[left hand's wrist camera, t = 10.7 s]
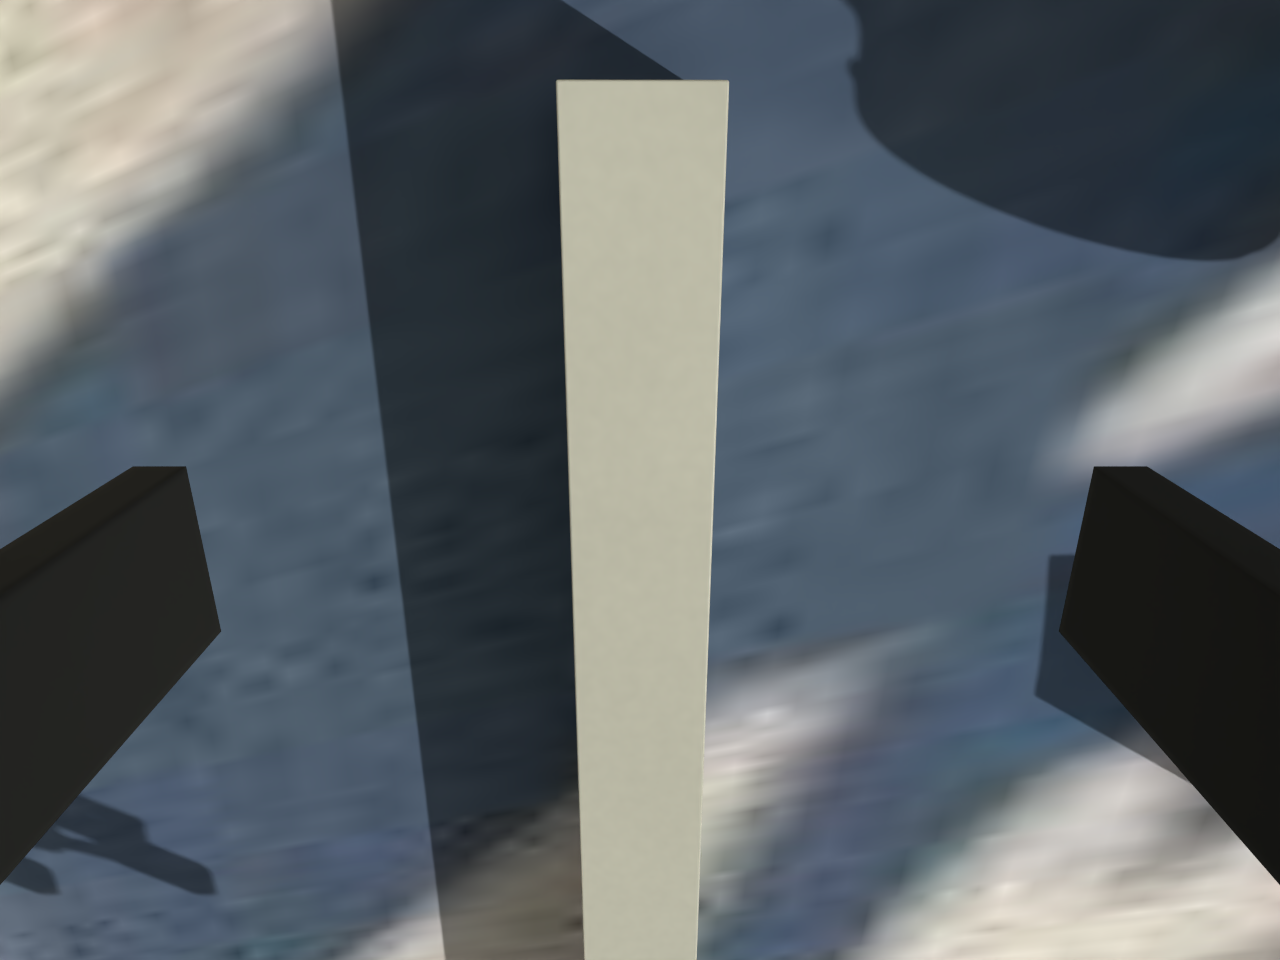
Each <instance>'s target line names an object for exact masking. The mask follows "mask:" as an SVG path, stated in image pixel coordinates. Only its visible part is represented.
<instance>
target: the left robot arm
mask: <svg viewBox="0 0 1280 960" xmlns="http://www.w3.org/2000/svg"><path fill="white" fill-rule="evenodd" d="M220 632H221V629H220V624H219V619H218V615H217V610H216V605H215V601H214V596H213V591H212V586H211V582H210V577H209V572H208V568H207V563H206V558H205V554H204V549H203V544H202V539H201V535H200V530H199V525H198V521H197V516H196V511H195V507H194V502H193V497H192V493H191V488H190V483H189V478H188V474H187V469H186V467H131V468H130V469H128V470H127V471H125V472H123V473H122V474H120V475H119V476H117V477H115V478H114V479H112V480H111V481H109V482H107V483H106V484H104V485H103V486H101V487H99V488H98V489H96V490H95V491H93V492H91V493H90V494H88V495H87V496H85V497H83V498H82V499H80V500H78V501H77V502H75V503H74V504H72V505H70V506H69V507H67V508H66V509H64V510H62V511H61V512H59V513H58V514H56V515H54V516H53V517H51V518H50V519H48V520H46V521H45V522H43V523H42V524H40V525H38V526H37V527H35V528H34V529H32V530H30V531H29V532H27V533H26V534H24V535H22V536H21V537H19V538H17V539H16V540H14V541H13V542H11V543H9V544H8V545H6V546H5V547H3V548H1V549H0V884H1V883H2V882H3V881H4V880H5V879H6V878H7V876H8V875H9V874H10V873H11V872H12V871H13V869H14V868H15V867H16V866H17V865H18V864H19V863H20V861H21V860H22V859H23V858H24V857H25V856H26V855H27V853H28V852H29V851H30V850H31V849H32V848H33V847H34V845H35V844H36V843H37V842H38V841H39V840H40V838H41V837H42V836H43V835H44V834H45V833H46V832H47V830H48V829H49V828H50V827H51V826H52V825H53V824H54V822H55V821H56V820H57V819H58V818H59V817H60V816H61V814H62V813H63V812H64V811H65V810H66V809H67V808H68V806H69V805H70V804H71V803H72V802H73V801H74V799H75V798H76V797H77V796H78V795H79V794H80V793H81V791H82V790H83V789H84V788H85V787H86V786H87V785H88V783H89V782H90V781H91V780H92V779H93V778H94V777H95V775H96V774H97V773H98V772H99V771H100V770H101V769H102V767H103V766H104V765H105V764H106V763H107V762H108V760H109V759H110V758H111V757H112V756H113V755H114V754H115V752H116V751H117V750H118V749H119V748H120V747H121V746H122V744H123V743H124V742H125V741H126V740H127V739H128V738H129V736H130V735H131V734H132V733H133V732H134V731H135V729H136V728H137V727H138V726H139V725H140V724H141V723H142V721H143V720H144V719H145V718H146V717H147V716H148V715H149V713H150V712H151V711H152V710H153V709H154V708H155V707H156V705H157V704H158V703H159V702H160V701H161V700H162V699H163V697H164V696H165V695H166V694H167V693H168V692H169V690H170V689H171V688H172V687H173V686H174V685H175V684H176V682H177V681H178V680H179V679H180V678H181V677H182V676H183V674H184V673H185V672H186V671H187V670H188V669H189V668H190V666H191V665H192V664H193V663H194V662H195V661H196V659H197V658H198V657H199V656H200V655H201V654H202V653H203V651H204V650H205V649H206V648H207V647H208V646H209V645H210V643H211V642H212V641H213V640H214V639H215V638H216V637H217V635H218V634H219V633H220ZM1059 632H1060V633H1061V634H1062V635H1063V637H1064V638H1065V639H1066V640H1067V641H1068V642H1069V643H1070V645H1071V646H1072V647H1073V648H1074V649H1075V650H1076V651H1077V653H1078V654H1079V655H1080V656H1081V657H1082V658H1083V660H1084V661H1085V662H1086V663H1087V664H1088V665H1089V666H1090V668H1091V669H1092V670H1093V671H1094V672H1095V673H1096V674H1097V676H1098V677H1099V678H1100V679H1101V680H1102V681H1103V682H1104V684H1105V685H1106V686H1107V687H1108V688H1109V689H1110V690H1111V692H1112V693H1113V694H1114V695H1115V696H1116V697H1117V699H1118V700H1119V701H1120V702H1121V703H1122V704H1123V705H1124V707H1125V708H1126V709H1127V710H1128V711H1129V712H1130V713H1131V715H1132V716H1133V717H1134V718H1135V719H1136V720H1137V721H1138V723H1139V724H1140V725H1141V726H1142V727H1143V728H1144V729H1145V731H1146V732H1147V733H1148V734H1149V735H1150V736H1151V738H1152V739H1153V740H1154V741H1155V742H1156V743H1157V744H1158V746H1159V747H1160V748H1161V749H1162V750H1163V751H1164V752H1165V754H1166V755H1167V756H1168V757H1169V758H1170V759H1171V760H1172V762H1173V763H1174V764H1175V765H1176V766H1177V767H1178V769H1179V770H1180V771H1181V772H1182V773H1183V774H1184V775H1185V777H1186V778H1187V779H1188V780H1189V781H1190V782H1191V783H1192V785H1193V786H1194V787H1195V788H1196V789H1197V790H1198V791H1199V793H1200V794H1201V795H1202V796H1203V797H1204V798H1205V799H1206V801H1207V802H1208V803H1209V804H1210V805H1211V806H1212V808H1213V809H1214V810H1215V811H1216V812H1217V813H1218V814H1219V816H1220V817H1221V818H1222V819H1223V820H1224V821H1225V822H1226V824H1227V825H1228V826H1229V827H1230V828H1231V829H1232V830H1233V832H1234V833H1235V834H1236V835H1237V836H1238V837H1239V839H1240V840H1241V841H1242V842H1243V843H1244V844H1245V845H1246V847H1247V848H1248V849H1249V850H1250V851H1251V852H1252V853H1253V855H1254V856H1255V857H1256V858H1257V859H1258V860H1259V861H1260V863H1261V864H1262V865H1263V866H1264V867H1265V868H1266V869H1267V871H1268V872H1269V873H1270V874H1271V875H1272V876H1273V878H1274V879H1275V880H1276V881H1277V882H1278V883H1279V884H1280V549H1279V548H1277V547H1275V546H1274V545H1272V544H1271V543H1269V542H1267V541H1266V540H1264V539H1263V538H1261V537H1259V536H1258V535H1256V534H1254V533H1253V532H1251V531H1250V530H1248V529H1246V528H1245V527H1243V526H1242V525H1240V524H1238V523H1237V522H1235V521H1234V520H1232V519H1230V518H1229V517H1227V516H1226V515H1224V514H1222V513H1221V512H1219V511H1218V510H1216V509H1214V508H1213V507H1211V506H1210V505H1208V504H1206V503H1205V502H1203V501H1202V500H1200V499H1198V498H1197V497H1195V496H1193V495H1192V494H1190V493H1189V492H1187V491H1185V490H1184V489H1182V488H1181V487H1179V486H1177V485H1176V484H1174V483H1173V482H1171V481H1169V480H1168V479H1166V478H1165V477H1163V476H1161V475H1160V474H1158V473H1157V472H1155V471H1153V470H1152V469H1150V468H1149V467H1094V469H1093V474H1092V478H1091V483H1090V488H1089V493H1088V497H1087V502H1086V507H1085V511H1084V516H1083V521H1082V525H1081V530H1080V535H1079V539H1078V544H1077V549H1076V554H1075V558H1074V563H1073V568H1072V572H1071V577H1070V582H1069V586H1068V591H1067V596H1066V600H1065V605H1064V610H1063V615H1062V619H1061V624H1060V629H1059Z"/></svg>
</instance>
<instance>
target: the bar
mask: <svg viewBox="0 0 1280 960" xmlns="http://www.w3.org/2000/svg"><path fill="white" fill-rule="evenodd" d="M728 97H729V81H728V80H556V101H557V133H558V164H559V195H560V227H561V258H562V289H563V320H564V352H565V383H566V414H567V446H568V477H569V508H570V539H571V571H572V602H573V633H574V665H575V696H576V727H577V759H578V790H579V821H580V852H581V884H582V915H583V946H584V960H696V959H697V932H698V905H699V878H700V851H701V824H702V797H703V770H704V743H705V716H706V689H707V663H708V636H709V609H710V582H711V555H712V528H713V501H714V474H715V447H716V420H717V393H718V366H719V340H720V313H721V286H722V259H723V232H724V205H725V178H726V151H727V124H728Z"/></svg>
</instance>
